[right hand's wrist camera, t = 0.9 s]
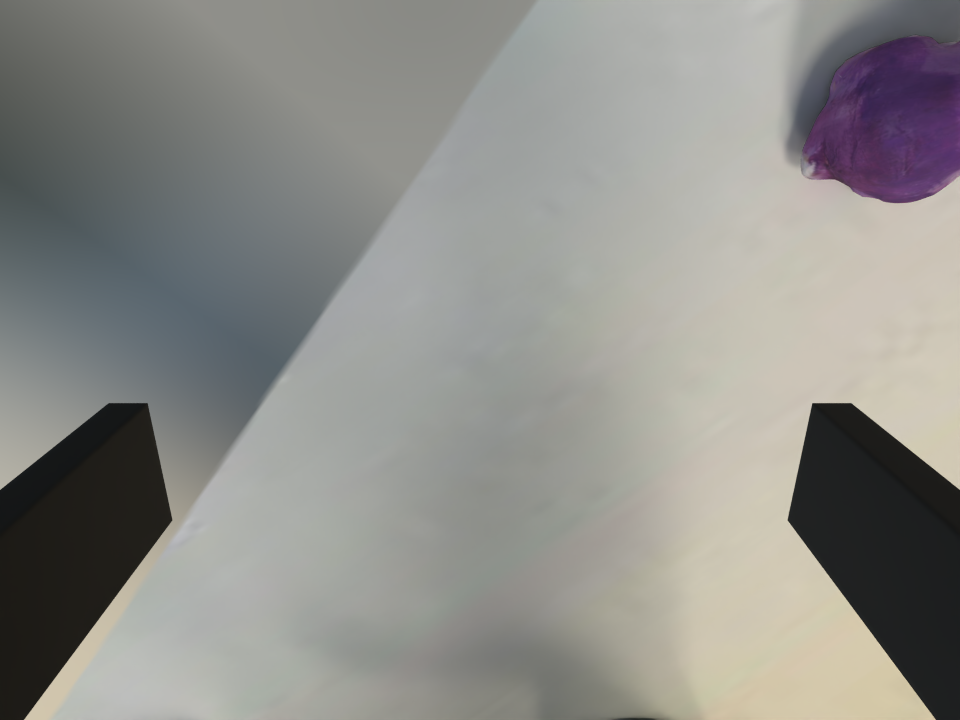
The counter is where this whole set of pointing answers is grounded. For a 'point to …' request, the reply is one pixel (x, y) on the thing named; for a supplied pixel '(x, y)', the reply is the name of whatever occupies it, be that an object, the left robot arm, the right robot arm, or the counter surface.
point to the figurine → (891, 122)
